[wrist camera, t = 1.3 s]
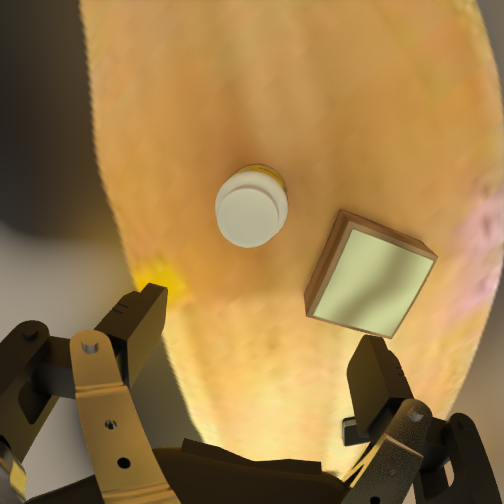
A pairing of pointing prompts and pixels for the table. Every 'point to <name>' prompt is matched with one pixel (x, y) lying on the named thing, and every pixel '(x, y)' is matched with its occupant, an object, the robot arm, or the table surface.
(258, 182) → the supplement bottle
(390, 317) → the pedestal
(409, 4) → the table surface
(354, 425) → the external hard drive
